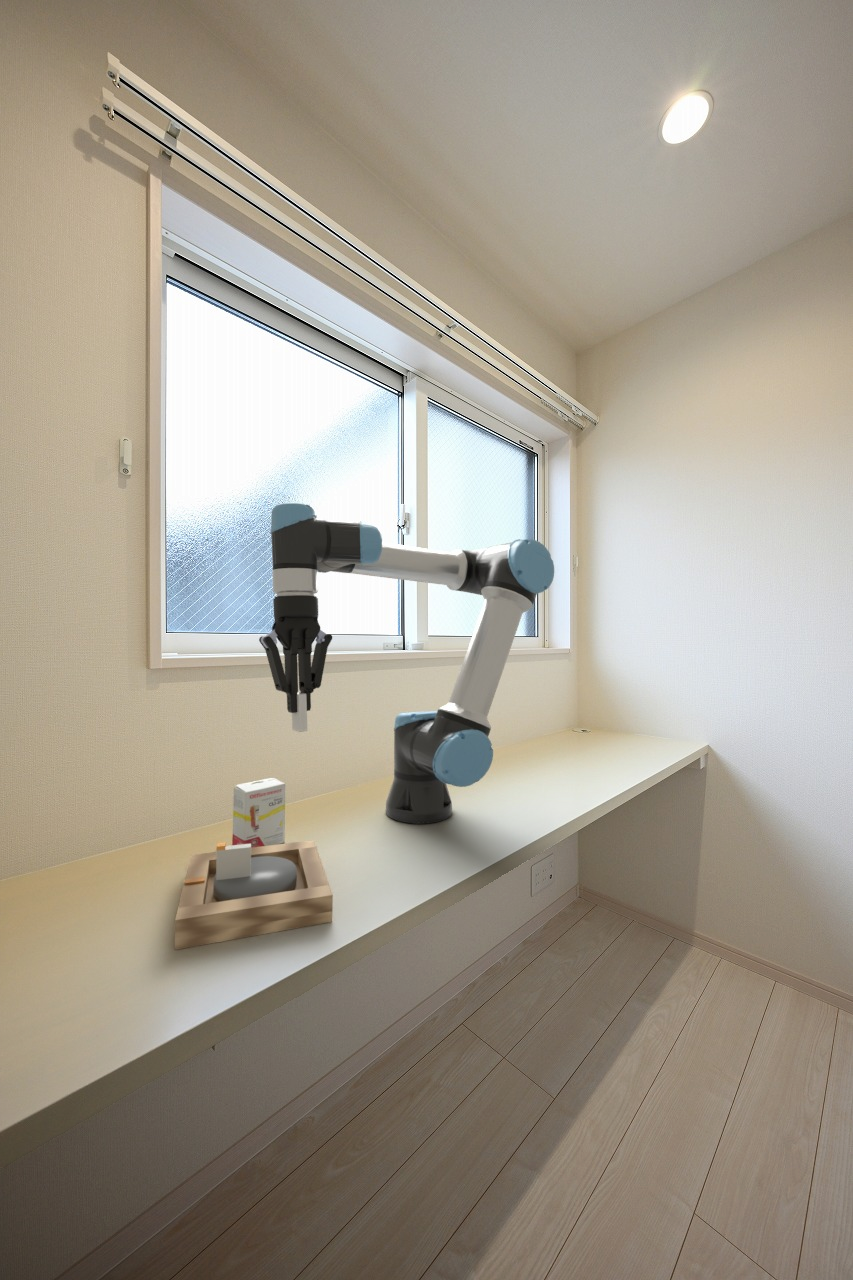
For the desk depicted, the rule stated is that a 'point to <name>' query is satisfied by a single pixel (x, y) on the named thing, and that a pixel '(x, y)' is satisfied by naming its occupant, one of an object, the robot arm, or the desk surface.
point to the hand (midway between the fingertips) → (299, 730)
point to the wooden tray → (252, 900)
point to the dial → (250, 873)
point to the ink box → (259, 813)
